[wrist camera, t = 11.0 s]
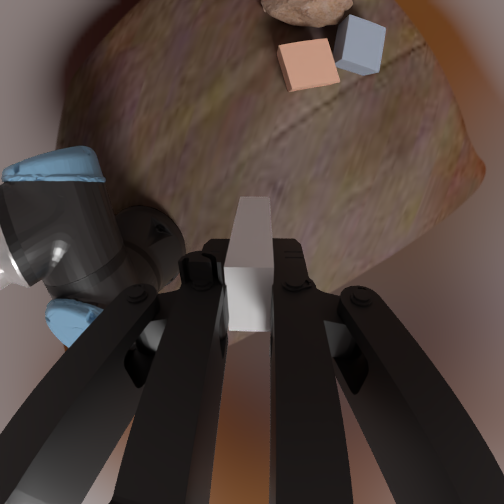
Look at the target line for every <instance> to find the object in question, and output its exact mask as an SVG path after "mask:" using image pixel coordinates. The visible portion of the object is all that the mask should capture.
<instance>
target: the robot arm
mask: <svg viewBox="0 0 504 504" xmlns="http://www.w3.org/2000/svg"><path fill="white" fill-rule="evenodd" d="M1 179H2V182H4V183H3V184H2V185H0V290H1V289H3V288H4V287H6V286H7V285H9V284H10V283H16V284H19V285H22V286H24V287H27V288H29V287H31V286H32V285H34V284H35V283H37V282H38V281H40V280H43V282H44V284H45V286H46V288H47V290H48V292H49V294H50V296H51V297H52V300H51V301H50V302H49V303H48V305H47V309H46V312H45V315H46V317H45V318H46V322H47V324H48V326H49V328H50V330H51V331H52V332H53V334H54V335H55V336H56V337H57V338H58V339H59V340H60V341H61V342H62V343H63V344H65V345H66V346H67V347H68V350H67V351H66V352H65V353H64V354H63V355H62V356H61V358H60V359H59V360H58V361H57V362H56V363H55V365H54V366H53V367H52V368H51V369H50V371H49V372H48V373H47V374H46V375H45V377H44V378H43V379H42V380H41V381H40V383H39V384H38V385H37V386H36V388H35V389H34V390H33V391H32V393H31V394H30V395H29V396H28V398H27V399H26V400H25V402H24V403H23V404H22V405H21V407H20V408H19V409H18V411H17V412H16V414H15V415H14V416H13V417H12V419H11V420H10V422H9V423H8V424H7V426H6V427H5V429H4V430H3V431H2V433H1V434H0V504H81V503H82V502H83V500H84V498H85V496H86V495H87V493H88V491H89V490H90V488H91V486H92V485H93V483H94V481H95V480H96V477H97V476H98V474H99V473H100V471H101V469H102V468H103V466H104V464H105V463H106V461H107V460H108V458H109V456H110V455H111V453H112V451H113V450H114V448H115V446H116V445H117V443H118V441H119V440H120V438H121V436H122V435H123V433H124V431H125V429H126V428H127V427H128V425H129V423H130V422H131V420H132V418H133V417H134V415H135V417H134V420H133V423H132V427H131V430H130V434H129V437H128V440H127V444H126V448H125V452H124V455H123V458H122V462H121V466H120V470H119V474H118V478H117V482H116V486H115V490H114V494H113V497H112V500H111V501H110V503H109V504H209V498H210V489H211V480H212V471H213V461H214V453H215V444H216V435H217V428H218V419H219V410H220V403H221V402H220V401H221V394H222V386H223V379H224V371H225V363H226V355H227V347H228V335H227V330H228V323H229V331H270V332H271V337H270V399H271V400H270V485H269V486H270V487H269V504H353V495H352V486H351V476H350V468H349V460H348V452H347V446H346V438H345V431H344V425H343V418H342V413H341V406H340V400H339V395H338V389H337V384H336V378H337V380H338V382H339V384H340V386H341V388H342V391H343V392H344V395H345V397H346V398H347V401H348V403H349V405H350V407H351V409H352V411H353V413H354V415H355V417H356V419H357V421H358V423H359V425H360V427H361V429H362V431H363V434H364V436H365V438H366V440H367V442H368V444H369V446H370V448H371V450H372V452H373V455H374V457H375V459H376V461H377V463H378V465H379V467H380V469H381V472H382V474H383V476H384V478H385V480H386V482H387V484H388V487H389V489H390V491H391V493H392V495H393V498H394V500H395V502H396V504H504V475H503V473H502V471H501V469H500V467H499V465H498V463H497V461H496V460H495V458H494V456H493V454H492V452H491V451H490V449H489V447H488V446H487V444H486V442H485V441H484V439H483V437H482V436H481V434H480V432H479V431H478V429H477V427H476V426H475V424H474V423H473V421H472V419H471V418H470V416H469V415H468V413H467V412H466V410H465V409H464V407H463V406H462V404H461V403H460V401H459V400H458V398H457V397H456V395H455V394H454V392H453V391H452V389H451V388H450V386H449V385H448V384H447V382H446V381H445V380H444V378H443V377H442V375H441V374H440V372H439V371H438V370H437V368H436V367H435V366H434V364H433V363H432V361H431V360H430V359H429V358H428V356H427V355H426V353H425V352H424V351H423V350H422V348H421V347H420V346H419V344H418V343H417V342H416V340H415V339H414V338H413V337H412V335H411V334H410V333H409V332H408V330H407V329H406V328H405V326H404V325H403V324H402V323H401V322H400V320H399V319H398V318H397V317H396V315H395V314H394V313H393V312H392V310H391V309H390V308H389V307H388V306H387V304H386V303H385V302H384V301H383V300H382V299H381V297H380V296H379V295H378V294H377V293H376V292H374V291H373V290H371V289H369V288H367V287H363V286H350V287H347V288H345V289H344V290H343V291H342V292H341V295H340V296H338V295H333V294H329V293H325V292H322V291H320V290H318V289H317V288H316V285H315V284H314V282H313V280H311V279H310V278H309V276H308V272H307V268H306V263H305V259H304V255H303V251H302V247H301V244H300V243H299V242H298V241H297V240H296V239H279V238H272V225H271V209H270V197H240V200H239V204H238V208H237V212H236V217H235V221H234V225H233V229H232V234H231V238H230V239H210V240H209V241H208V242H207V243H206V244H204V246H203V249H202V251H195V252H191V253H188V254H186V249H185V243H184V239H183V237H182V234H181V232H180V230H179V229H178V227H177V226H176V225H175V223H174V222H173V221H172V220H171V219H170V218H169V217H167V216H166V215H165V214H163V213H162V212H160V211H158V210H156V209H153V208H150V207H146V206H133V207H129V208H126V209H124V210H122V211H121V212H119V213H118V214H117V215H116V216H115V215H114V212H113V209H112V206H111V202H110V199H109V196H108V192H107V188H106V185H105V182H106V179H105V177H103V174H102V171H101V168H100V165H99V162H98V159H97V155H96V153H95V152H94V150H93V149H91V148H90V147H87V146H74V147H68V148H64V149H59V150H55V151H51V152H47V153H44V154H40V155H37V156H34V157H31V158H28V159H25V160H23V161H21V162H18V163H16V164H13V165H10V166H8V167H7V168H5V169H4V170H3V172H2V178H1ZM179 272H180V277H181V283H182V284H181V287H180V289H178V290H176V291H172V292H167V293H161V294H158V292H159V291H160V290H161V289H162V288H163V287H164V286H166V285H168V284H169V283H171V282H172V281H173V280H174V279H175V278H176V277H177V275H178V274H179ZM335 376H336V378H335Z"/></svg>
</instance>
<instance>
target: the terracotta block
mask: <svg viewBox="0 0 504 504" xmlns="http://www.w3.org/2000/svg"><path fill="white" fill-rule="evenodd" d="M277 57H278V60H279V64H280V67H281V70H282V73H283V77H284V80H285V84H286V87H287V91H288V92H291V91H296V90H302V89H307V88H313V87H320V86H326V85H331V84H334V83H338V82H340V80H339V76H338V72H337V69H336V65H335V62H334V58H333V55H332V52H331V49H330V45H329V42H328V39H327V38H324V39H316V40H308V41H301V42H294V43H288V44H283V45H279V46H278V50H277Z"/></svg>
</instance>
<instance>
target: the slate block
mask: <svg viewBox="0 0 504 504" xmlns="http://www.w3.org/2000/svg"><path fill="white" fill-rule="evenodd" d="M385 31H386V28H385V27H382V26H380V25H377V24H375V23H372V22H370V21H367V20H365V19H362V18H359V17H356V16H353V15H350V14H349V15H348V16H347V17H346V18H345V19H344V20H343V21H342V22H341V23H340V24H339V25H338V29H337V34H336V40H335V45H334V51H333V58H334V62H335V65H336V67H338V68H341V69H345V70H348V71H351V72H354V73H357V74H360V75H363V76H364V75H369V74H373V73H377V72H379V69H380V63H381V57H382V51H383V45H384V38H385Z"/></svg>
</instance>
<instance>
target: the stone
mask: <svg viewBox="0 0 504 504" xmlns="http://www.w3.org/2000/svg"><path fill="white" fill-rule="evenodd" d="M261 4H262V6H263V9H264V11H266V12H267V13H268V14H269V15H270V16H272V17H274V18H276V19H278V20H281V21H283V22H285V23H288V24H290V25H293V26H297V25H298V26H311V27H324V26H326V25H336V24H338V23H339V22H340V20H341V18H342V17H343V16H344V12H345V11H346V10H348V9H349V8H350V7H351V6H352V5H353V2H352V0H261Z"/></svg>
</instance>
